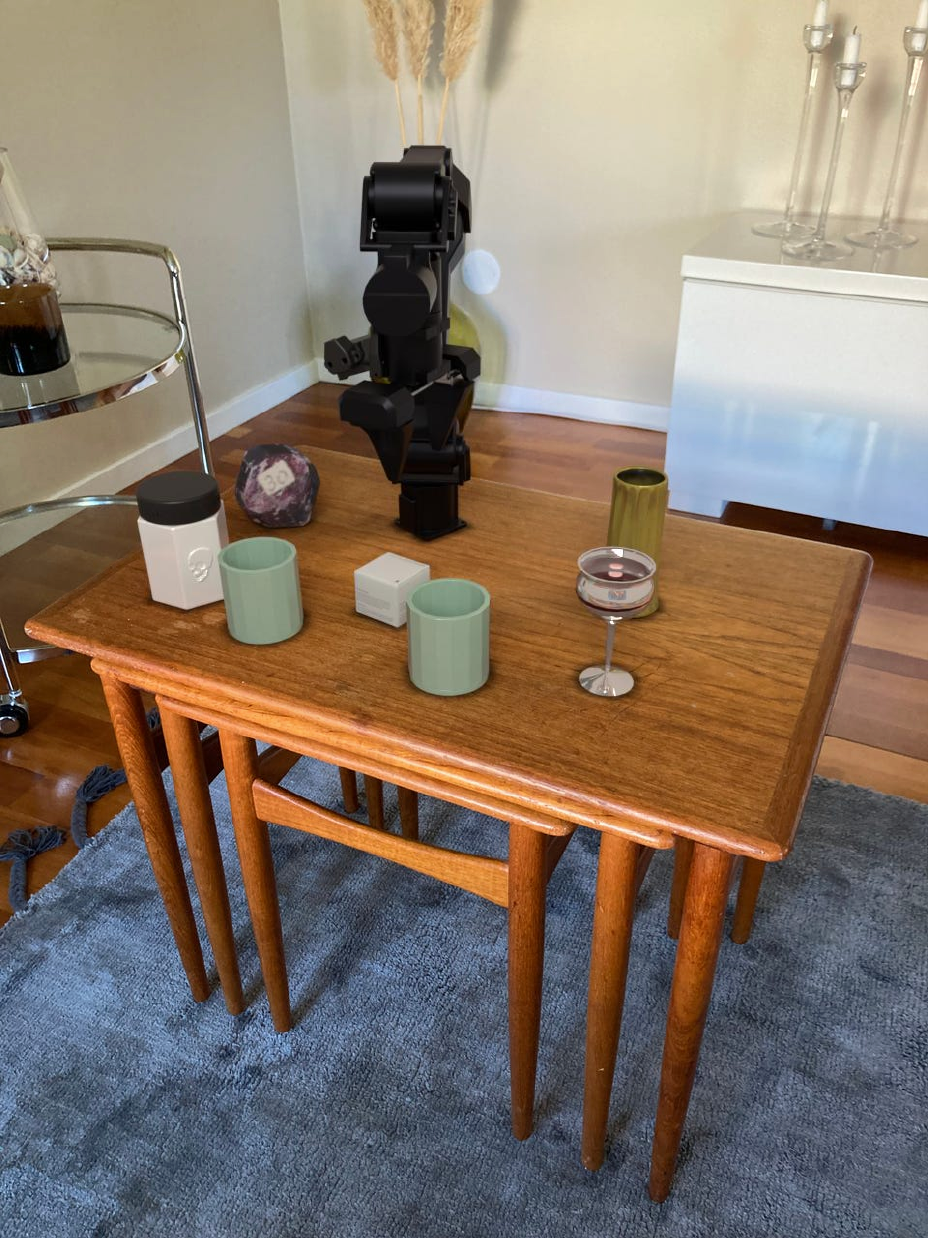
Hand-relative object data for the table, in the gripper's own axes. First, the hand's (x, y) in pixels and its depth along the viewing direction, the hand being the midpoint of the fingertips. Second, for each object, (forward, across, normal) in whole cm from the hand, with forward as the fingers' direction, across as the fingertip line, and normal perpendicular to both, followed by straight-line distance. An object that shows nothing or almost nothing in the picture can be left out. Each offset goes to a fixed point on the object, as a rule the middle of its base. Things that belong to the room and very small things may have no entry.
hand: (416, 465), depth 98 cm
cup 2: (+13, +15, +11) cm, 23 cm away
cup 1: (+13, +16, -9) cm, 22 cm away
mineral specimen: (+13, -5, -22) cm, 26 cm away
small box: (+13, +7, +1) cm, 15 cm away
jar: (+13, +13, -20) cm, 28 cm away
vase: (+13, -4, +22) cm, 26 cm away
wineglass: (+13, +10, +25) cm, 30 cm away
